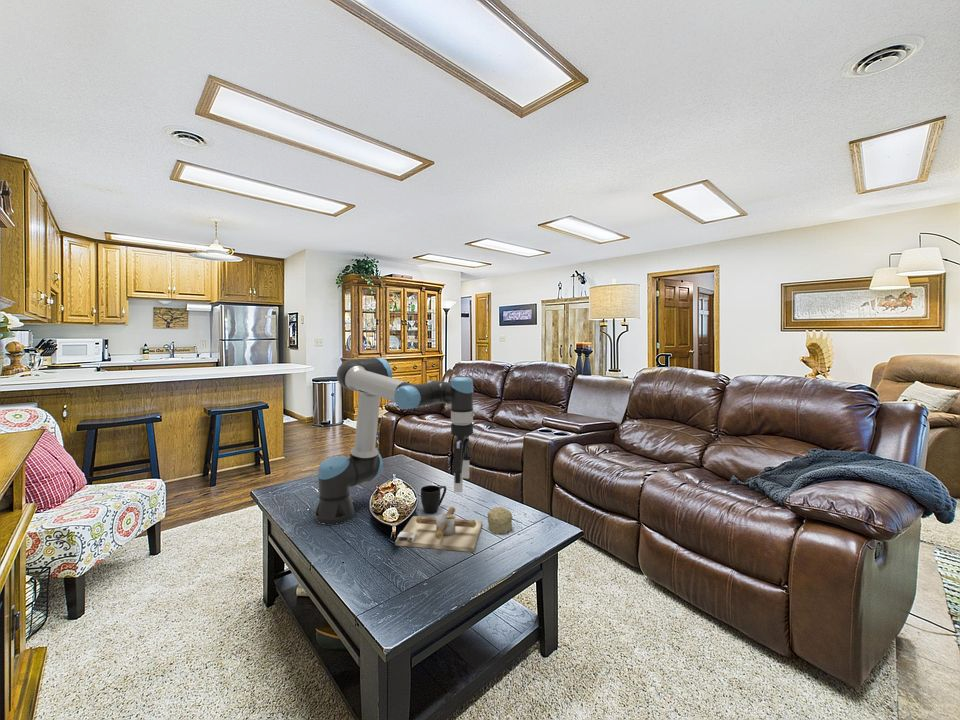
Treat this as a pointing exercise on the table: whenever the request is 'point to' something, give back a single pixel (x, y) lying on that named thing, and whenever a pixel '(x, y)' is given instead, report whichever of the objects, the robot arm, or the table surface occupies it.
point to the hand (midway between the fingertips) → (462, 484)
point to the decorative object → (499, 520)
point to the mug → (431, 498)
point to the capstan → (446, 523)
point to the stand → (426, 538)
